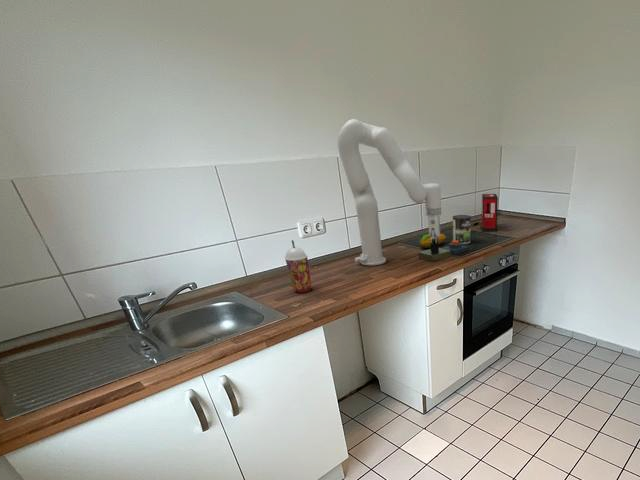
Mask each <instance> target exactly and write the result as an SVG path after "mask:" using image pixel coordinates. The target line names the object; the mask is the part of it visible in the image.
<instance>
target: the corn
mask: <svg viewBox="0 0 640 480" xmlns="http://www.w3.org/2000/svg"><path fill="white" fill-rule="evenodd" d="M446 239H447V236H446V235H445V234H443V233H440V236H439V237H438V242H439V246H440V245H441V243H442V242H444V240H446ZM430 241H431V237H429V233H427V234H423V235H422V236H421V237H420V238H419V244H420V247H422V248H423V249H431V243H430Z"/></svg>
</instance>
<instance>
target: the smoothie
mask: <svg viewBox="0 0 640 480" xmlns="http://www.w3.org/2000/svg"><path fill="white" fill-rule="evenodd" d="M291 244H292V247H291V248H289V249H288V250H287V251H286V253H285V257H284V260H285V263H286V266H287V270H288V273H289V276H290V280H291V283H292V286H293V289H294V290H295V291H296V292H297V293H307V292H309V291H311V287H312V281H311V273H310V272H311V271H310V266H309V259H308V254H306V252H305V251H304V250H303V249H302V248H300V247H296V246H295V241H294V240H293V239H292V240H291Z"/></svg>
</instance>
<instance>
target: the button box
mask: <svg viewBox="0 0 640 480" xmlns="http://www.w3.org/2000/svg"><path fill="white" fill-rule="evenodd" d="M442 248H443V249H447V250H451V255H454V256H455V255H458V254H462V253H465V252H469V246H468V245H465V244H461V243H459V244H458V245H453V244H452V242H449V243H448V245H447V246H444V247H442Z"/></svg>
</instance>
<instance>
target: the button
mask: <svg viewBox="0 0 640 480" xmlns="http://www.w3.org/2000/svg"><path fill="white" fill-rule="evenodd" d="M451 243H452V244H453V245H458V244H459V241H458V240H453V239H452V240H451Z"/></svg>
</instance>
